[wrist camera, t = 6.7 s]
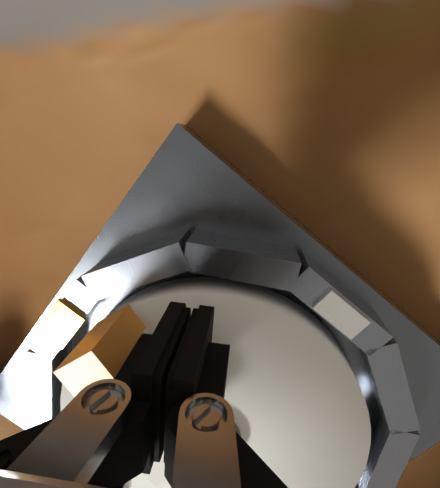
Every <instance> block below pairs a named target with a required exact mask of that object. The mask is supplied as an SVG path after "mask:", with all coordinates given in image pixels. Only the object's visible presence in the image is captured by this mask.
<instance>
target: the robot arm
mask: <svg viewBox="0 0 440 488" xmlns="http://www.w3.org/2000/svg"><path fill="white" fill-rule="evenodd" d="M213 321H214V307H213V306H205V305H200V306H199V308H198V309H197V308H193V311H192V313H191V308H189V307H186V303H180V302H172V301H171V302H170V303H169V305H168V307H167V309H166V311H165V312H164V314H163V316H162V318H161V320H160V321H159V323H158V325H157V327H156V329H155V330H154V332H153V334H146V333H143V334H142V335H141V336H140V337H139V339H138V341H137V342H136V344H135V346H134V347H133V349H132V350H131V352H130V354H129V355H128V357H127V359H126V360H125V362H124V364H123V365H122V367H121V368H120V370H119V372H118V373H117V375H116V377H115V378H114V379H102V380H99V381H95V382H93V383H91V384H89V385H87V386H86V387H85V388H83V389H82V390H81V391H80V392H79V393H78V394H77V395H76V396H75V397H74V398H73V399H72V400H71V401H70V403H69V404H68V405H67V406H66V407H65V408H64V409H63V410H62V411H61V412H60V413H59V414H58V415H57V416H56V417H55V418H53V419H50V420H48V421H46V422H43V423H41V424H38V425H36V426H34V427H31V428H29V429H27V430H24V431H22V432H20V433H17V434H15V435H12V436H10V437H8V438H5V439H3V440H1V441H0V488H130V487H131V483H132V479H133V478H135V477H136V476H138V475H140V474H141V473H144V474H150V472H151V469H152V466H153V463H154V462H160V460H161V458H162V454H163V451H164V463H165V470H164V476H165V478H166V480H167V481H168V483H169V484H170V486H171V488H288V487H287V486H286V485H285V484H284V483H283V481H282V480H281V479H280V478H279V477H278V476H277V475H276V474H275V473H274V472H273V471H272V470H271V469H270V467H269V466H268V465H267V464H266V463H265V462H264V461H263V460H262V459H261V458H260V457H259V456H258V455H257V453H256V452H255V451H254V450H253V449H252V448H251V447H250V446H249V445H248V444H247V443H246V442H245V441H244V440H243V438H242V437H241V436H240V435H239V434H238V433H237V432H236V431H235V422H234V413H233V410H232V407H231V406H230V404H229V403H228V401H226V400H225V399H224V396H225V388H226V379H227V371H228V361H229V352H230V345H228V344H221V343H213V342H212V333H213Z"/></svg>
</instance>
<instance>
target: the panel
mask: <svg viewBox="0 0 440 488" xmlns="http://www.w3.org/2000/svg"><path fill="white" fill-rule="evenodd" d="M192 277H218V278H223V279H228V280H233V281H239V282H244V283H249V284H254V285H258V286H262V287H265V288H267V289H270V290H272V291H274V292H276V293H279V294H281V295H283V296H285V297H287V298H288V299H290V300H292V301H293V302H295V303H297V304H298V305H300V306H302V307H303V308H304V309H306V310H307V311H308V312H309V313H311V314H312V315H313V316H314V317H316V318H317V319H318V320H319V321H320V322H321V323H322V324H323V325H324V326H325V327H326V328H327V329H328V330H329V331H330V332H331V334H332V335H333V336H334V338H335V339H336V340H337V342H338V343H339V345H340V346H341V347H342V349H343V351H344V353H345V355H346V357H347V359H348V361H349V362H350V365H351V367H352V369H353V372H354V374H355V376H356V379H357V381H358V383H359V386H360V388H361V390H362V393H363V396H364V399H365V402H366V405H367V408H368V412H369V418H370V424H371V445H370V450H369V455H368V461H367V463H366V466H365V468H364V471H363V474H362V476H361V478H360V479H359V481H358V483H357V484H356V486H355V488H396V486H397V484H398V482H399V479H400V477H401V475H402V473H403V471H404V469H405V467H406V464H407V462H409V461H411V460H412V459H414V458H415V457H417V456H418V455H420V454H421V453H423V452H424V451H426V450H427V449H429V448H431V447H432V446H434V445H435V444H437V443H438V442H440V342H439V341H438V340H437V339H436V338H434V337H433V336H432V335H431V334H430V333H429V332H427V331H426V330H425V329H424V328H423V327H422V326H420V325H419V324H418V323H417V322H416V321H414V320H413V319H412V318H411V317H410V316H409V315H407V314H406V313H405V312H404V311H403V310H402V309H400V308H399V307H398V306H397V305H396V304H394V303H393V302H392V301H391V300H390V299H389V298H387V297H386V296H385V295H384V294H383V293H382V292H380V291H379V290H378V289H377V288H376V287H375V286H373V285H372V284H371V283H370V282H369V281H367V280H366V279H365V278H364V277H363V276H362V275H360V274H359V273H358V272H357V271H356V270H355V269H353V268H352V267H351V266H350V265H349V264H347V263H346V262H345V261H344V260H343V259H342V258H340V257H339V256H338V255H337V254H336V253H335V252H333V251H332V250H331V249H330V248H329V247H327V246H326V245H325V244H324V243H323V242H322V241H320V240H319V239H318V238H317V237H316V236H315V235H313V234H312V233H311V232H310V231H309V230H307V229H306V228H305V227H304V226H303V225H302V224H300V223H299V222H298V221H297V220H296V219H295V218H293V217H292V216H291V215H290V214H289V213H288V212H286V211H285V210H284V209H283V208H282V207H280V206H279V205H278V204H277V203H276V202H275V201H273V200H272V199H271V198H270V197H269V196H268V195H266V194H265V193H264V192H263V191H262V190H260V189H259V188H258V187H257V186H256V185H255V184H253V183H252V182H251V181H250V180H249V179H248V178H246V177H245V176H244V175H243V174H242V173H240V172H239V171H238V170H237V169H236V168H235V167H233V166H232V165H231V164H230V163H229V162H228V161H226V160H225V159H224V158H223V157H222V156H221V155H219V154H218V153H217V152H216V151H215V150H213V149H212V148H211V147H210V146H209V145H208V144H206V143H205V142H204V141H203V140H202V139H201V138H199V137H198V136H197V135H196V134H195V133H193V132H192V131H191V130H190V129H189V128H188V127H186V126H185V125H182V124H178V123H177V124H176V126H175V127H174V128H173V130H172V131H171V133H170V134H169V136H168V137H167V138H166V140H165V141H164V143H163V144H162V145H161V147H160V148H159V150H158V151H157V153H156V154H155V155H154V157H153V158H152V160H151V161H150V162H149V164H148V165H147V167H146V168H145V170H144V171H143V172H142V174H141V175H140V177H139V178H138V179H137V181H136V182H135V184H134V185H133V187H132V188H131V189H130V191H129V192H128V194H127V195H126V197H125V198H124V199H123V201H122V202H121V204H120V205H119V206H118V208H117V209H116V211H115V212H114V214H113V215H112V216H111V218H110V219H109V221H108V222H107V223H106V225H105V226H104V228H103V229H102V231H101V232H100V233H99V235H98V236H97V238H96V239H95V240H94V242H93V243H92V245H91V246H90V248H89V249H88V250H87V252H86V253H85V255H84V256H83V257H82V259H81V260H80V262H79V263H78V265H77V266H76V267H75V269H74V270H73V272H72V273H71V275H70V276H69V277H68V279H67V280H66V282H65V283H64V284H63V286H62V287H61V289H60V290H59V292H58V293H57V294H56V296H55V297H54V299H53V300H52V301H51V303H50V304H49V306H48V307H47V309H46V310H45V311H44V313H43V314H42V316H41V317H40V318H39V320H38V321H37V323H36V324H35V326H34V327H33V328H32V330H31V331H30V333H29V334H28V336H27V337H26V338H25V340H24V341H23V343H22V344H21V345H20V347H19V348H18V350H17V351H16V353H15V354H14V355H13V357H12V358H11V360H10V361H9V362H8V364H7V365H6V367H5V368H4V370H3V371H2V372H1V374H0V414H2V415H3V416H5V417H6V418H7V419H9V420H10V421H12V422H13V423H15V424H16V425H18V426H19V427H21V428H22V429H24V430H27V429H29V428H31V427H34V426H36V425H38V424H41V423H43V422H46V421H48V420H50V419H53V418H55V417H56V416H57V415H58V414H59V413H60V412H61V408H60V396H61V390H62V382H61V381H60V380H59V379H58V378H57V377H56V375H55V374H54V373H53V372H54V371H55V369H56V368H57V367H58V366H59V365H60V364H61V363H62V362H63V361H64V359H65V358H66V357H67V356H68V355H69V354H70V353H71V352H72V350H73V349H74V348H75V347H76V346H77V345H78V344H79V343H80V342H81V340H82V339H83V338H84V337H85V336H86V335H87V334H88V333H89V331H90V330H91V329H92V328H93V327H94V326H95V325H96V324H97V323H98V322H99V321H101V320H102V319H103V318H104V317H105V316H106V315H107V314H108V313H109V312H110V311H112V310H113V309H114V308H115V307H116V306H117V305H118V304H120V303H121V302H123V301H124V300H125V299H127V298H128V297H130V296H131V295H133V294H135V293H137V292H139V291H141V290H143V289H145V288H148V287H151V286H154V285H157V284H160V283H163V282H166V281H171V280H176V279H181V278H192Z"/></svg>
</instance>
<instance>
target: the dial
mask: <svg viewBox="0 0 440 488" xmlns="http://www.w3.org/2000/svg"><path fill="white" fill-rule="evenodd" d="M171 301H172V302H180V303H186V307H189V308H191V313H192V311H193V308H197V309H198V308H199V306H200V305H205V306H213V307H214V321H213V333H212V342H213V343H221V344H228V345H230V352H229V361H228V371H227V379H226V388H225V396H224V399H225V400H226V401H228V403H229V404H230V406H231V407H232V410H233V413H234V422H235V431H236V432H237V433H238V434H239V435H240V436H241V437H242V438H243V440H244V441H245V442H246V443H247V444H248V445H249V446H250V447H251V448H252V449H253V450H254V451H255V452H256V453H257V455H258V456H259V457H260V458H261V459H262V460H263V461H264V462H265V463H266V464H267V465H268V466H269V467H270V469H271V470H272V471H273V472H274V473H275V474H276V475H277V476H278V477H279V478H280V479H281V480H282V481H283V483H284V484H285V485H286V486H287V487H288V488H355V486H356V484H357V483H358V481H359V479H360V478H361V476H362V474H363V471H364V468H365V466H366V463H367V461H368V455H369V450H370V445H371V424H370V418H369V412H368V408H367V405H366V402H365V399H364V396H363V393H362V390H361V388H360V386H359V383H358V381H357V379H356V376H355V374H354V372H353V369H352V367H351V365H350V362H349V361H348V359H347V357H346V355H345V353H344V351H343V349H342V347H341V346H340V345H339V343H338V342H337V340H336V339H335V338H334V336H333V335H332V334H331V332H330V331H329V330H328V329H327V328H326V327H325V326H324V325H323V324H322V323H321V322H320V321H319V320H318V319H317V318H316V317H314V316H313V315H312V314H311V313H309V312H308V311H307V310H306V309H304V308H303V307H302V306H300V305H298V304H297V303H295V302H293V301H292V300H290V299H288V298H287V297H285V296H283V295H281V294H279V293H276V292H274V291H272V290H270V289H267V288H265V287H262V286H258V285H254V284H249V283H244V282H239V281H233V280H228V279H223V278H218V277H192V278H181V279H176V280H171V281H166V282H163V283H160V284H157V285H154V286H151V287H148V288H145V289H143V290H141V291H139V292H137V293H135V294H133V295H131V296H130V297H128V298H127V299H125V300H124V301H123V302H121V303H120V304H118V305H117V306H116V307H115V308H114V309H113V310H112V311H110V312H109V313H108V314H107V315H106V316H105V317H104V318H103V319H102V320H101V321H99V322H98V323H97V324H96V325H95V326H94V327H93V328H92V329H91V330H90V331H89V333H88V334H87V335H86V336H85V337H84V338H83V339H82V340H81V342H80V343H79V344H78V345H77V346H76V347H75V348H74V349H73V350H72V352H71V353H70V354H69V355H68V356H67V357H66V358H65V359H64V361H63V362H62V363H61V364H60V365H59V366H58V367H57V368H56V369H55V371H54V372H53V373H54V374H55V375H56V377H57V378H58V379H59V380H60V381H61V382H62V390H61V396H60V408H61V411H62V410H63V409H64V408H65V407H66V406H67V405H68V404H69V403H70V401H71V400H72V399H73V398H74V397H75V396H76V395H77V394H78V393H79V392H80V391H81V390H82V389H83V388H85V387H86V386H87V385H89V384H91V383H93V382H95V381H99V380H102V379H114V378H115V377H116V375H117V373H118V372H119V370H120V368H121V367H122V365H123V364H124V362H125V360H126V359H127V357H128V355H129V354H130V352H131V350H132V349H133V347H134V346H135V344H136V342H137V341H138V339H139V337H140V336H141V335H142V334H143V333H146V334H153V332H154V330H155V329H156V327H157V325H158V323H159V321H160V320H161V318H162V316H163V314H164V312H165V311H166V309H167V307H168V305H169V303H170V302H171ZM164 470H165V463H164V451H163V454H162V458H161V460H160V462H154V463H153V466H152V469H151V472H150V474H144V473H141V474H140V475H138V476H136V477H135V478H133V479H132V483H131V487H130V488H171V486H170V484H169V483H168V481H167V480H166V478H165V476H164Z"/></svg>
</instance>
